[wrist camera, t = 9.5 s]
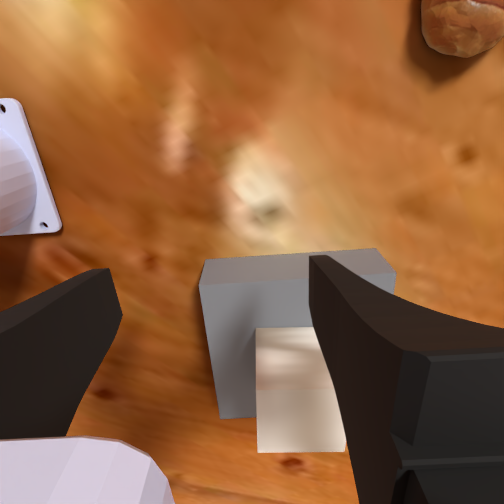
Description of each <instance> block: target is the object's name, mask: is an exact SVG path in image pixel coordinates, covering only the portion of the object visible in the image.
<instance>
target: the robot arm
mask: <svg viewBox="0 0 504 504" xmlns="http://www.w3.org/2000/svg"><path fill="white" fill-rule="evenodd" d="M1 105H4V107H5V108H6V112H5V113H4V112H3V111H2V110H1ZM43 222H45V223H46V224H47V225H48V227H45V226H44V225H43ZM61 227H62V223H61V220H60V217H59V214H58V211H57V208H56V205H55V202H54V199H53V196H52V193H51V190H50V187H49V184H48V181H47V178H46V175H45V172H44V169H43V167H42V164H41V161H40V158H39V155H38V152H37V149H36V146H35V143H34V140H33V137H32V134H31V131H30V128H29V125H28V122H27V119H26V116H25V113H24V111H23V108H22V106H21V104H20V103H19V102H18V101H17V100H15V99H12V98H4V99H0V236H6V235H21V234H36V233H51V232H57V231H58V230H60V229H61ZM309 309H310V314H311V319H312V324H313V328H314V331H315V334H316V337H317V340H318V343H319V345H320V348H321V351H322V354H323V357H324V360H325V362H326V365H327V368H328V371H329V374H330V377H331V380H332V383H333V386H334V390H335V393H336V397H337V402H338V406H339V410H340V414H341V419H342V423H343V428H344V432H345V437H346V441H347V446H348V450H349V455H350V460H351V464H352V469H353V474H354V479H355V484H356V488H357V493H358V498H359V504H504V328H499V327H494V326H489V325H484V324H480V323H476V322H472V321H468V320H464V319H460V318H457V317H453V316H450V315H446V314H443V313H440V312H437V311H434V310H431V309H428V308H425V307H422V306H419V305H417V304H414V303H412V302H409V301H407V300H404V299H402V298H400V297H398V296H395V295H393V294H391V293H389V292H387V291H385V290H383V289H381V288H379V287H377V286H375V285H374V284H372V283H370V282H368V281H367V280H365V279H363V278H362V277H360V276H358V275H357V274H355V273H354V272H352V271H350V270H349V269H347V268H346V267H344V266H343V265H342V264H340V263H339V262H337V261H336V260H334V259H333V258H331V257H330V256H328V255H312V256H309ZM122 316H123V314H122V311H121V307H120V304H119V300H118V297H117V293H116V290H115V286H114V283H113V280H112V276H111V273H110V269H109V268H105V269H92V270H89V271H86V272H84V273H81V274H79V275H77V276H75V277H73V278H70V279H68V280H66V281H64V282H62V283H60V284H58V285H56V286H54V287H52V288H50V289H48V290H46V291H44V292H42V293H41V294H38V295H36V296H34V297H32V298H30V299H28V300H26V301H24V302H22V303H20V304H17V305H15V306H13V307H11V308H9V309H7V310H5V311H2V312H0V504H175V502H174V499H173V496H172V493H171V489H170V486H169V483H168V479H167V478H166V477H165V475H164V474H163V472H162V471H161V470H160V468H159V467H158V466H157V464H156V463H155V462H154V460H153V459H152V458H151V457H150V455H149V454H148V453H146V452H144V451H142V450H140V449H138V448H136V447H134V446H132V445H130V444H128V443H126V442H124V441H122V440H119V439H111V438H103V437H94V436H86V435H85V436H66V434H67V431H68V429H69V427H70V424H71V422H72V419H73V417H74V415H75V412H76V410H77V408H78V405H79V403H80V401H81V399H82V397H83V395H84V393H85V391H86V389H87V388H88V386H89V384H90V382H91V380H92V379H93V377H94V375H95V373H96V371H97V370H98V368H99V366H100V364H101V362H102V361H103V359H104V357H105V355H106V353H107V351H108V349H109V348H110V346H111V344H112V342H113V340H114V338H115V335H116V333H117V330H118V328H119V325H120V322H121V319H122Z"/></svg>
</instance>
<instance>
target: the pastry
mask: <svg viewBox="0 0 504 504" xmlns="http://www.w3.org/2000/svg"><path fill="white" fill-rule="evenodd" d="M421 16H422V34H423V36H424V39H425V41H426V43H427V44H428V46H429V47H431V48H433V49H435V50H436V51H438V52H440V53H442V54H446V55H455V56H458V57H464V58H468V57H472V56H474V55H476V54H479V53H481V52H483V51H486V50H489V49H491V48H493V47H494V46H495V45H496V44H497V43H498V42H499V41H500V39H501V38H502V37H503V36H504V0H422V2H421Z"/></svg>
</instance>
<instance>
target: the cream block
mask: <svg viewBox="0 0 504 504" xmlns="http://www.w3.org/2000/svg"><path fill="white" fill-rule="evenodd" d="M256 411H257V447H258V453H264V452H344V451H345V444H346V437H345V432H344V428H343V423H342V419H341V414H340V410H339V406H338V402H337V397H336V393H335V390H334V386H333V383H332V380H331V377H330V374H329V371H328V368H327V365H326V362H325V360H324V357H323V354H322V351H321V348H320V345H319V343H318V340H317V337H316V334H315V331H314V328H313V327H284V328H256Z"/></svg>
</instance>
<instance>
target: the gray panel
mask: <svg viewBox="0 0 504 504" xmlns="http://www.w3.org/2000/svg"><path fill="white" fill-rule="evenodd" d="M312 255H328V256H330V257H331V258H333V259H334V260H336V261H337V262H339V263H340V264H342V265H343V266H344V267H346V268H347V269H349V270H350V271H352V272H354V273H355V274H357V275H358V276H360V277H362V278H363V279H365V280H367V281H368V282H370V283H372V284H374V285H375V286H377V287H379V288H381V289H383V290H385V291H387V292H389V293H391V294H394V287H395V280H396V271H395V270H394V269H393V268H392V267H391V266H390V264H389V263H388V262H387V261H386V260H385V259H384V257H383V256H382V255H381V254H380V253H379V252H378V250H377V249H376V248H373V249H358V250H342V251H327V252H312V253H296V254H281V255H266V256H250V257H235V258H220V259H206V260H205V264H204V267H203V271H202V275H201V279H200V282H199V290H200V297H201V303H202V309H203V315H204V321H205V328H206V334H207V340H208V346H209V352H210V358H211V365H212V371H213V377H214V383H215V389H216V395H217V402H218V408H219V414H220V419H232V418H250V417H257V411H256V328H284V327H313V324H312V319H311V314H310V309H309V256H312Z"/></svg>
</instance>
